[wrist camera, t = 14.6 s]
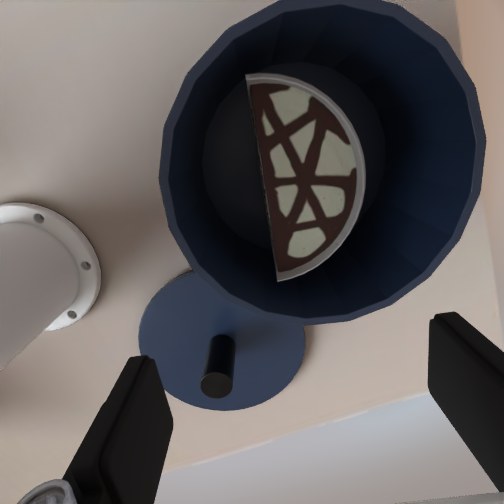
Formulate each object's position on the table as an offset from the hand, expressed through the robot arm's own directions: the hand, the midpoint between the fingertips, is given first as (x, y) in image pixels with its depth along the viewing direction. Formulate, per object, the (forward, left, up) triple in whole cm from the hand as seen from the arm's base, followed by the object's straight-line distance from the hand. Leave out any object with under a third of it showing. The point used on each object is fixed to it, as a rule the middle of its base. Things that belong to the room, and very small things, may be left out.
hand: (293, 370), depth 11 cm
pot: (+3, +5, -20) cm, 20 cm away
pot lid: (-6, -12, -19) cm, 23 cm away
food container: (+3, +5, -19) cm, 20 cm away
